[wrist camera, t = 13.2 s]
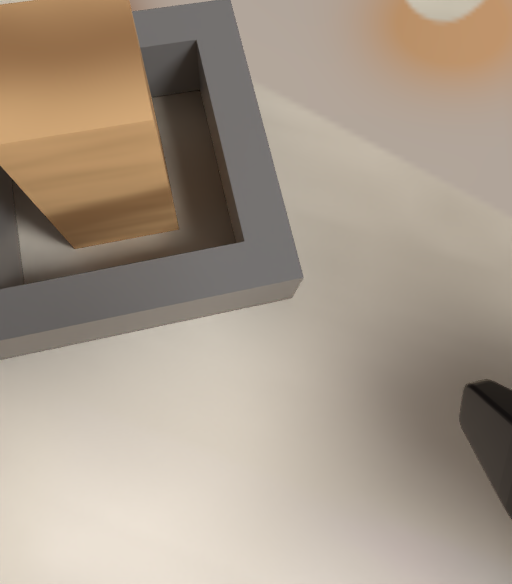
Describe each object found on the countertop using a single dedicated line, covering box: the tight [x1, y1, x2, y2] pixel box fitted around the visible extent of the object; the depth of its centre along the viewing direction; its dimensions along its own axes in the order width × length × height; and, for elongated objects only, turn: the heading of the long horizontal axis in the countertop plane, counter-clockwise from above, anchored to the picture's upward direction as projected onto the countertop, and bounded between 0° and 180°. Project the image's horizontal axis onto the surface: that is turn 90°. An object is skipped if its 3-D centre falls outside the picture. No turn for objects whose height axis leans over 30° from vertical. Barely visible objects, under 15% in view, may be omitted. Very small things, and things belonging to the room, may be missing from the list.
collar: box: [0, 0, 304, 360], centre depth 22 cm, size 14×14×4 cm
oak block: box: [0, 0, 179, 249], centre depth 19 cm, size 5×5×9 cm
